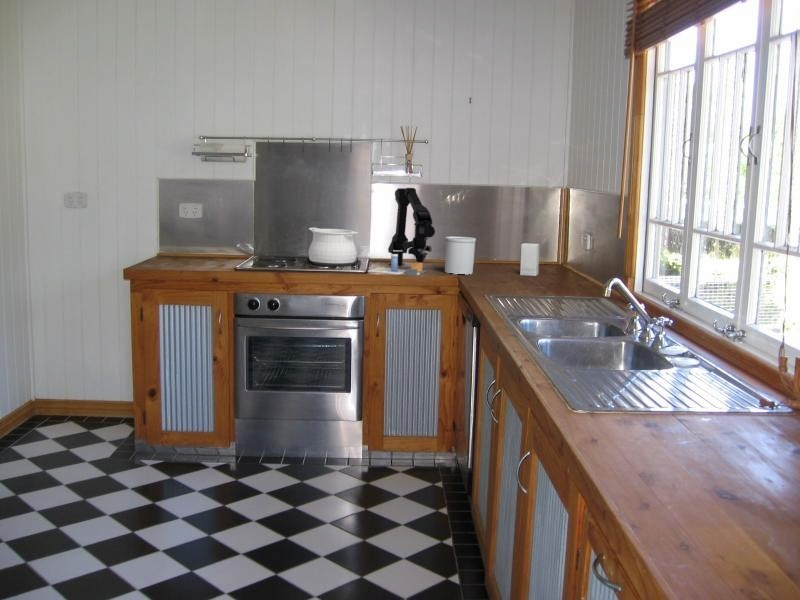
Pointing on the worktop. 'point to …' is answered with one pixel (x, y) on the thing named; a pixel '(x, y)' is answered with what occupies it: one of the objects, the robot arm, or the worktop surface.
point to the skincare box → (529, 259)
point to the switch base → (414, 272)
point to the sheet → (387, 271)
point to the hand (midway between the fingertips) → (419, 267)
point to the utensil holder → (459, 255)
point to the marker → (394, 262)
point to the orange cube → (416, 266)
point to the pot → (332, 247)
